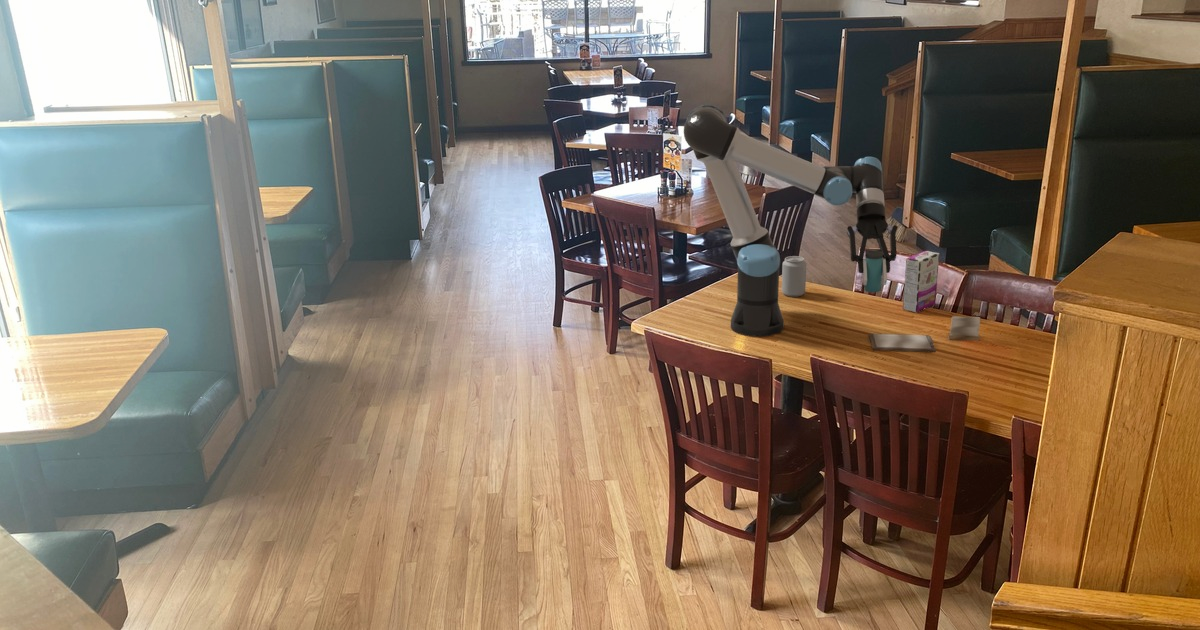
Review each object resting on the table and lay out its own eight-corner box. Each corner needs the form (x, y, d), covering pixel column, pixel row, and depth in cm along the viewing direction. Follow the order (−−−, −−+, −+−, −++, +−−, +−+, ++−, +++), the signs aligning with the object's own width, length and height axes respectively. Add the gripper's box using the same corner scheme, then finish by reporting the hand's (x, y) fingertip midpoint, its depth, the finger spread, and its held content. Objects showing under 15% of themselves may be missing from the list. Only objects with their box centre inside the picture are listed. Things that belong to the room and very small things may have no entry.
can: (781, 297, 278) (783, 261, 274) (781, 290, 285) (782, 254, 281) (805, 297, 276) (807, 261, 272) (804, 290, 283) (806, 255, 279)
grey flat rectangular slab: (872, 350, 234) (873, 344, 233) (868, 335, 244) (869, 330, 243) (935, 352, 231) (936, 346, 230) (928, 337, 241) (929, 331, 240)
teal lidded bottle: (864, 292, 236) (866, 253, 232) (863, 287, 240) (864, 248, 237) (882, 292, 235) (884, 253, 231) (880, 287, 239) (882, 248, 236)
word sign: (948, 339, 239) (951, 317, 237) (947, 337, 240) (950, 315, 238) (979, 340, 237) (982, 318, 235) (978, 338, 239) (981, 316, 237)
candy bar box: (920, 301, 270) (925, 250, 264) (935, 304, 266) (940, 252, 260) (901, 309, 263) (905, 257, 257) (916, 313, 259) (921, 260, 254)
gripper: (901, 214, 244) (907, 288, 235) (837, 216, 248) (840, 289, 238) (905, 200, 238) (911, 275, 228) (839, 201, 241) (842, 276, 231)
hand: (875, 282), depth 233 cm, fingers closed on teal lidded bottle, 4 cm apart
